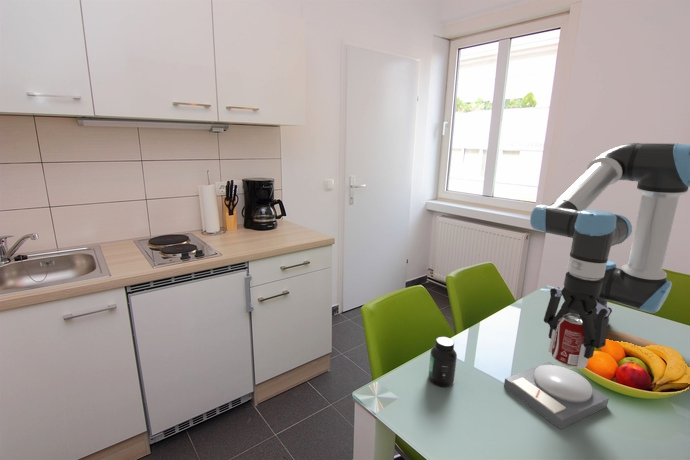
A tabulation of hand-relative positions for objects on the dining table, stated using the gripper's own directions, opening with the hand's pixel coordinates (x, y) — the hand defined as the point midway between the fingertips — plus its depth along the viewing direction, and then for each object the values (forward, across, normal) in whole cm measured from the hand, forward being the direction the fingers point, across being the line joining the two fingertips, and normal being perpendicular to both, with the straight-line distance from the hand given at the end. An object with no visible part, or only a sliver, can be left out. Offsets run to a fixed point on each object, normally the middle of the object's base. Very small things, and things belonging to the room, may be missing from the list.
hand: (566, 358), depth 91 cm
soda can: (+1, 0, 0) cm, 1 cm away
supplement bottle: (+11, -17, -25) cm, 32 cm away
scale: (+11, 0, -2) cm, 11 cm away
